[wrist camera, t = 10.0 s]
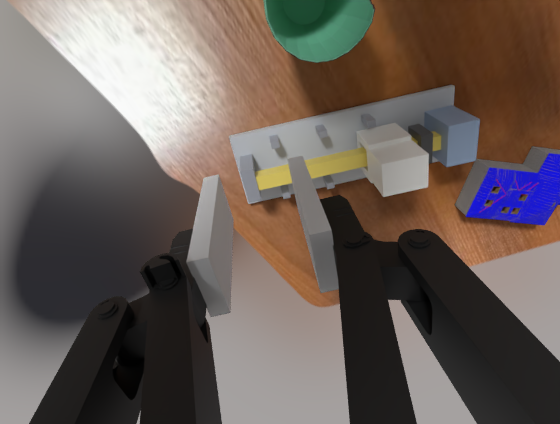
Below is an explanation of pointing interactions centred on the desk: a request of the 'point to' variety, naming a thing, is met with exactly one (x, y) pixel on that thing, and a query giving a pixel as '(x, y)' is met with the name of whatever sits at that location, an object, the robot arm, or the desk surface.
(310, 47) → the mug
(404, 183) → the sleeve
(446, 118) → the comb rig
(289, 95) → the desk surface
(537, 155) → the house
